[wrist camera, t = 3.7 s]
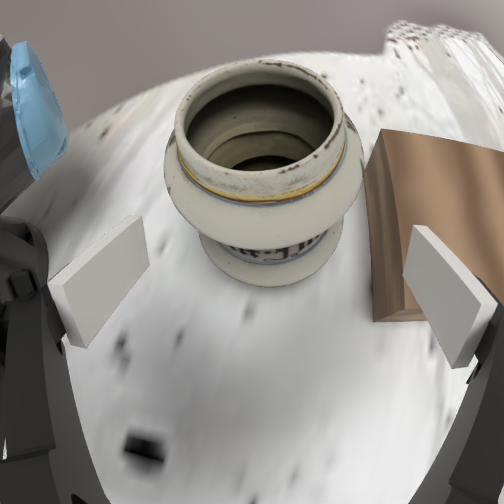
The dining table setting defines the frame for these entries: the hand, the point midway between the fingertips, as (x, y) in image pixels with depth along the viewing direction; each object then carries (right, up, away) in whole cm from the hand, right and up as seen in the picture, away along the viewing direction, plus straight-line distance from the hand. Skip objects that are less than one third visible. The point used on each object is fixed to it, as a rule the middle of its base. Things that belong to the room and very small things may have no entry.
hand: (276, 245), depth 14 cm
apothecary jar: (+1, +1, +16) cm, 16 cm away
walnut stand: (+19, 0, +15) cm, 24 cm away
